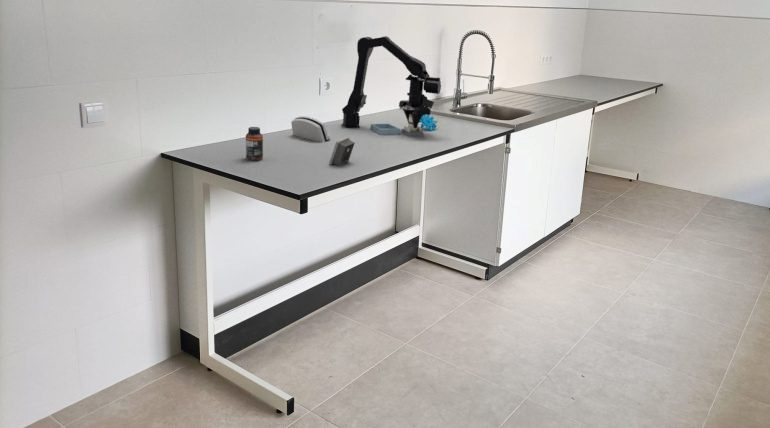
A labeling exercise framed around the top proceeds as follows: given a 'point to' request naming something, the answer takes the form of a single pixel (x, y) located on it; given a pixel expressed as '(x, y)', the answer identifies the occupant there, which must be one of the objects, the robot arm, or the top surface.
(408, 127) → the fuse
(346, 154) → the electrical switch
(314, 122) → the white half-oval case
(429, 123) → the gear
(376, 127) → the tray
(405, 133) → the fuse block
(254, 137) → the supplement bottle
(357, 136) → the top surface
